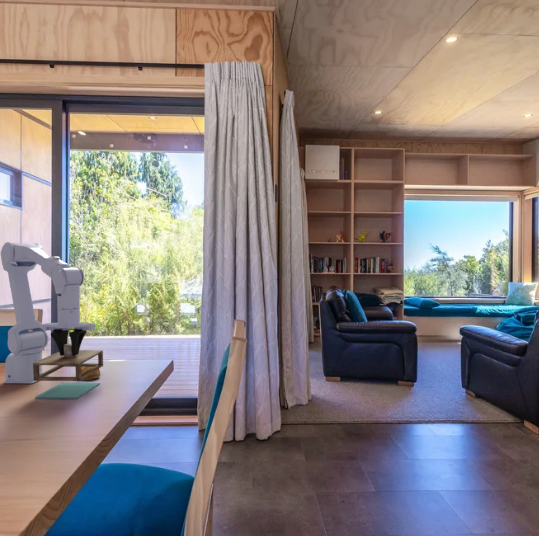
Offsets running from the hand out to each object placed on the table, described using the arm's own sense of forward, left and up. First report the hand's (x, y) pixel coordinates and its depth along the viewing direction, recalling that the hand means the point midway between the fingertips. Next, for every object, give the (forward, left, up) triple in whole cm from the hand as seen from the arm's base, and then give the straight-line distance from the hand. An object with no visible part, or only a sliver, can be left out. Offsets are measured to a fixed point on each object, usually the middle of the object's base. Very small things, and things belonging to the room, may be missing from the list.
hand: (69, 355), depth 106 cm
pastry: (-2, +14, -11) cm, 17 cm away
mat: (0, 0, -10) cm, 10 cm away
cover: (0, 0, -5) cm, 5 cm away
